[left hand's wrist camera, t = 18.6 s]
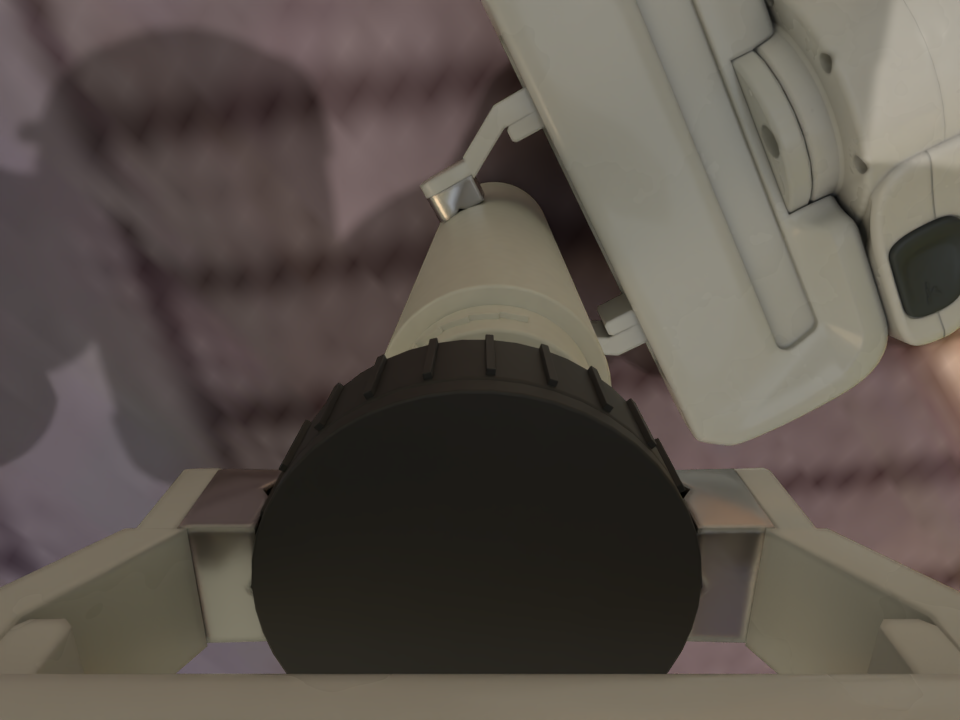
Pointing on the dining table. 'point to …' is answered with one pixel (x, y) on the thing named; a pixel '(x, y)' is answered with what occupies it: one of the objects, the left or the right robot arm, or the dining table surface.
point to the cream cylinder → (498, 284)
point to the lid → (476, 524)
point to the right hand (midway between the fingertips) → (473, 278)
